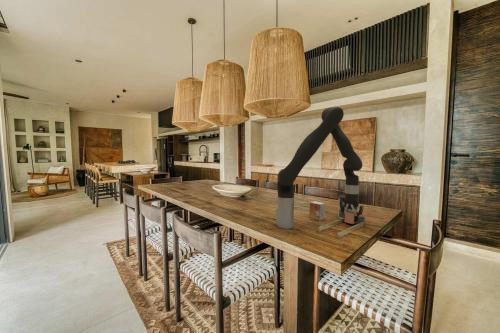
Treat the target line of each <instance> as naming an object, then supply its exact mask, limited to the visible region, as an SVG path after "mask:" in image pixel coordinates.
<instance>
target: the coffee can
mask: <svg viewBox="0 0 500 333" xmlns="http://www.w3.org/2000/svg"><path fill="white" fill-rule="evenodd" d="M344 201H345V194H340V195H338V207H337V208H338V210H337V217H338V218H339V219H341V218H343V216H344V213H343V212H341V209H340V204H339V202H344ZM345 207H346V206H345V204H344V209H345ZM348 211H353V210H351V209H349V210H348Z"/></svg>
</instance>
